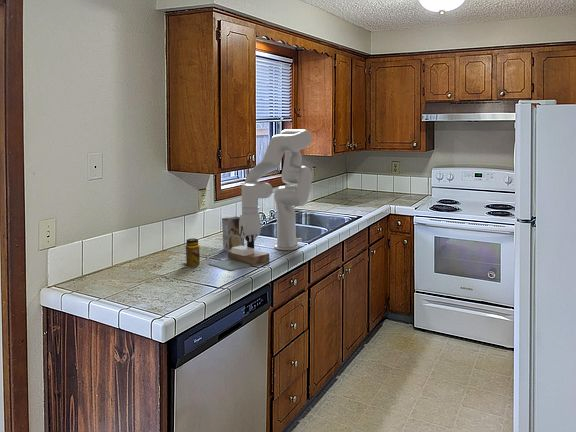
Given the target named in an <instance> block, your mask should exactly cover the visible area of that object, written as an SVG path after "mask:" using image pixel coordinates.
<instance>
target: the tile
mask: <svg viewBox="0 0 576 432" xmlns="http://www.w3.org/2000/svg"><path fill="white" fill-rule="evenodd" d="M254 250H255V247H254V248H250V247H247V245H246V246H245V245H244V246H242V245H241V246H237V247H232V253H234V254H238V255H242V256H247V255H251V254H254Z"/></svg>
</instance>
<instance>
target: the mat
mask: <svg viewBox="0 0 576 432" xmlns="http://www.w3.org/2000/svg"><path fill="white" fill-rule="evenodd" d="M208 265H210V266H212V267H217V268H218V269H223V270H226V271H229V272H233V271H237V270H241V269H244V268H248V267H252V266H251V265H249V264H246V263H242V262H238V261H235V260H231V259H228V258H225V259H221V260H218V261H212V262H210V263H208Z"/></svg>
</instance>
